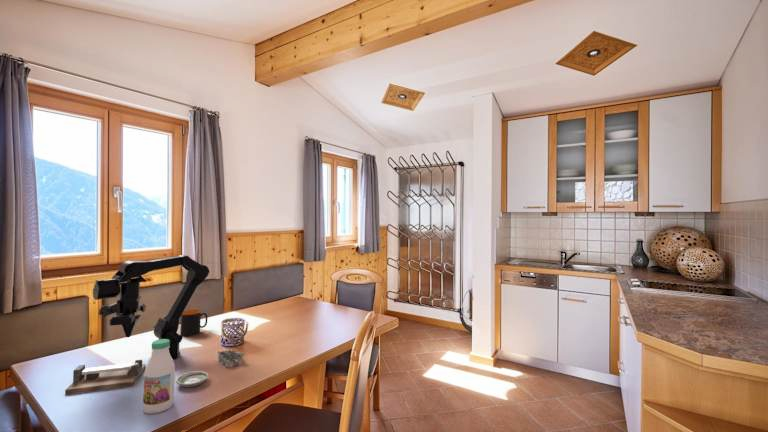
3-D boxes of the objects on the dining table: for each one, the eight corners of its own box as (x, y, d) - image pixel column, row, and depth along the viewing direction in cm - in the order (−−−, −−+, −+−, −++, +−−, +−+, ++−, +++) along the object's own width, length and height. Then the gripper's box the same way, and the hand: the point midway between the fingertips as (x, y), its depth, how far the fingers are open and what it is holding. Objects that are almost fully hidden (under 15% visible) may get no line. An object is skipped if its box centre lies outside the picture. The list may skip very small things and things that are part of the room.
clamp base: (145, 368, 126) (146, 353, 126) (133, 385, 113) (133, 369, 113) (85, 374, 119) (86, 359, 119) (65, 394, 106) (65, 377, 106)
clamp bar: (140, 365, 121) (140, 361, 121) (137, 369, 118) (137, 365, 118) (85, 371, 115) (85, 367, 115) (81, 375, 112) (81, 371, 112)
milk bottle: (152, 400, 105) (155, 336, 105) (178, 400, 105) (181, 336, 105) (136, 414, 97) (139, 345, 97) (164, 414, 98) (167, 346, 98)
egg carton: (244, 364, 132) (245, 354, 132) (224, 369, 127) (225, 359, 127) (235, 355, 140) (235, 345, 140) (216, 360, 135) (216, 350, 135)
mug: (210, 331, 167) (211, 311, 167) (184, 338, 157) (185, 316, 157) (203, 328, 172) (204, 307, 172) (177, 333, 162) (178, 312, 162)
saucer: (173, 393, 109) (173, 385, 110) (178, 379, 118) (178, 372, 118) (206, 388, 113) (206, 381, 113) (208, 375, 122) (209, 369, 122)
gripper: (113, 290, 131) (111, 330, 130) (91, 302, 113) (89, 348, 113) (146, 289, 135) (145, 328, 135) (131, 300, 117) (129, 345, 117)
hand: (128, 336), depth 125 cm, fingers closed
